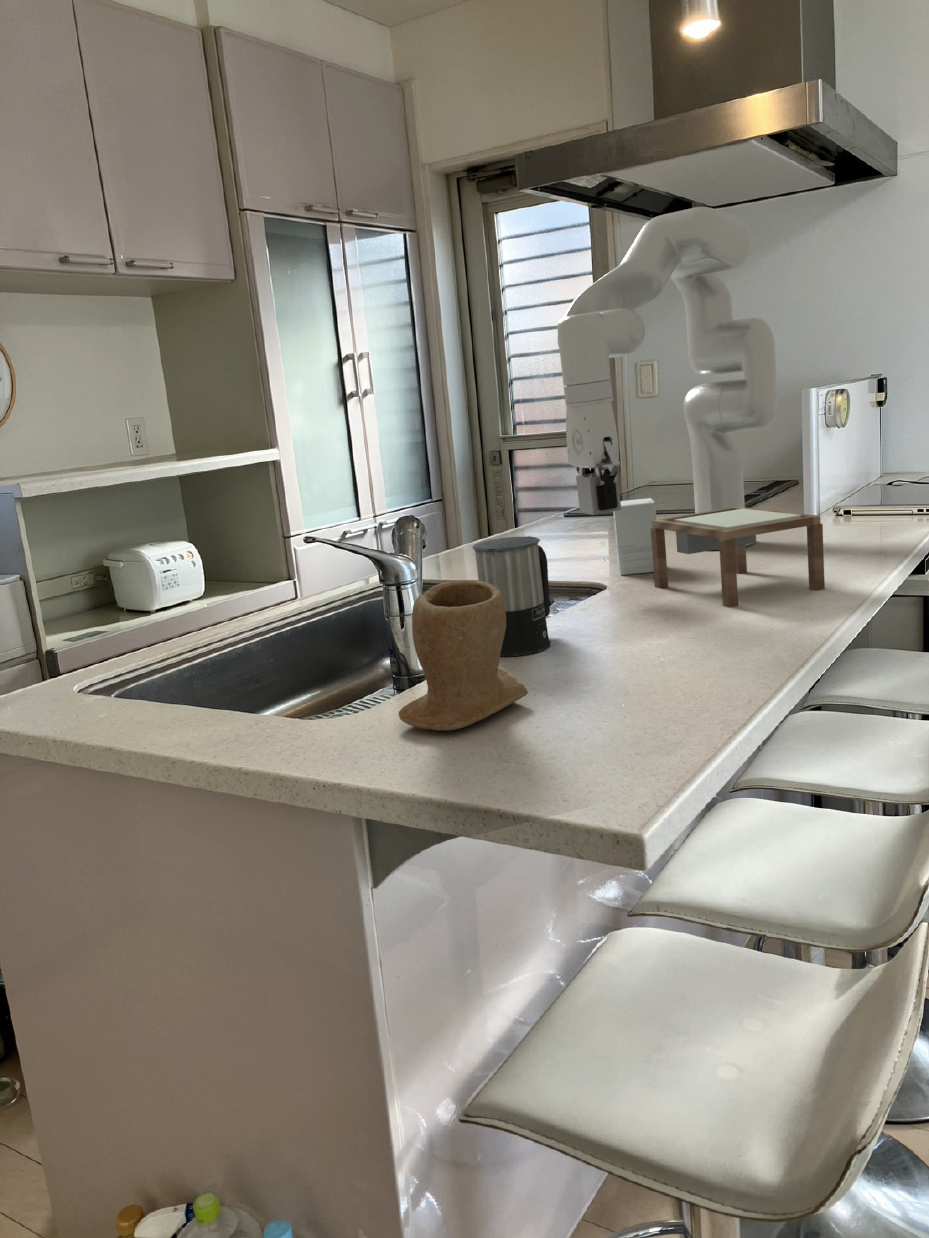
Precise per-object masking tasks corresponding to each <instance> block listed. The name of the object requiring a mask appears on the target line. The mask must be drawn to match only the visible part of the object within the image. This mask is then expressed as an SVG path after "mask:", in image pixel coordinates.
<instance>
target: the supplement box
mask: <svg viewBox="0 0 929 1238" xmlns="http://www.w3.org/2000/svg"><path fill="white" fill-rule="evenodd" d="M620 503H621V510H617V511H612V512H613V524H614V533H615V534H614V536H615V537H614V538H615V546H616V547H615V550H616V562H617V568H618V571H620V572H619V574H620V576H625V575H626V576H627V575H634V574H636V575H637V574H644V573H645V574H646V573H654V568H653V554H652V540H651V528H652V520H658V519H657V508H656V502H655V500H654V499H652V498H651V497H649V498H639V499H630V500H629V499H628V500H620Z"/></svg>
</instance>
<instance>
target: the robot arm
mask: <svg viewBox="0 0 929 1238" xmlns="http://www.w3.org/2000/svg"><path fill="white" fill-rule="evenodd" d="M752 249H753V238H752V233H751V231H750V229H749V227H748V226H747V224H746V223H745V222H744V221H743V220H742V219H741V218H739V217H737V216H734V215H733V214H729V213H727V212H724V211H722V210H719V209H716V208H712V207H710V206H709V207H708V206H697V207H691V208H688V209H683V210H678V211H674V212H669V213H664V214H662V215H661V214H660V215H658V216H655V217H652V218H651V219H650V220H648V221H647V222H645V224H644V225H643V226H642V228H641V229H640V230H639V233H638V234H637V236H636V238H635V239H634V241H633V242H632V244H631V246H630V248H629V249H628V251H627V252H626V254H625V256H624V257H623V259H622V260H621V262H620V264H618V266H616V267H615V268H613V269H611V270H610V271H609V272H607V273H606V274H604V275H603V276H602V277H601V278H599V279H598V280H596V281H595V282H594V283H592V284H590V286H588V287H587V288H585V289H584V290H583V291H582V292H581V293H580V294H579V295H577V297H575V299H574V300H573V301H572V302H571V304H570V306H569V308H567V310H566V312H565V314H564V316H563V317H562V318H560V319H559V321H558V322H557V327H556V328H557V329H556V331H557V345H558V349H559V356H560V357H559V359H560V365H561V375H562V376H561V377H562V384H563V392H564V393H563V394H564V403H565V408H566V411H565V435H566V447H567V450H566V451H567V461H568V463H569V464H570V465H571V466H572V467H574V468H576V472H577V473H578V476H579V475H585V474H590V473H596V476H597V481H598V484H599V486H596V490H597V500H598V509H599V510H601V511H603V510H608V509H613V508H617V506H618V503H617V493H616V482H617V479H616V475H617V473H618V470H619V469H620V466H621V463H620V460H619V459H620V450H619V448H620V447H619V440H618V431H617V426H616V419H615V414H614V410H613V405H612V402H613V401H614V397H613V387H612V377H611V367H610V359H613V358H621V357H626V356H629V355H631V354H633V353H635V352H636V351H637V350H638V349H639V348H640V347H641V346H642V344H643V343H644V340H645V335H646V326H645V322H644V320H643V318H642V316H640V315H639V313H638V312H636V310H638V309H640V308H642V307H645V306H646V305H648V304H650V303H652V302H654V301H655V300H656V299H657V298H659V296H660V295H662V294H661V293H662V292H663V291H664V288H665V287H666V285H667V283H668V281H669V280H671V281H672V282H673V283H674V284H675V286H676V287H677V289H678V291H679V292H680V295H681V297H682V299H683V302H684V309H685V320H686V336H687V337H686V339H687V352H688V360H689V365H690V367H691V370H692V371H693V372H694V373H696V374H698V375H703V376H714V375H726V374H733V373H734V374H735V373H740V372H742V373H743V374H744V378H743V379H734V380H732V379H731V380H730V379H729V380H720V381H712V382H711V381H710V382H705V383H701V384H699V385H696V386H694V387H693V388H691V389H690V390H689V391H688V392H687V394H685V397H684V400H683V414H684V420H685V424H686V427H687V431H688V432H687V433H688V437H689V438H688V439H689V443H690V453H691V463H692V464H691V465H692V478H693V480H692V481H693V495H694V496H693V497H694V499H693V500H694V511H695V513H702V512H708V511H714V510H720V509H727V508H733V507H745V508H746V506H745V505H746V503H745V489H744V483H745V482H744V467H743V464H744V463H743V454H742V453H743V452H742V450H741V448H740V446H739V445H738V443H737V442H736V440H735V439H734V437H733V436H732V434H730V432H742V431H755V430H762V429H766V428H768V427H769V426H771V425H772V424H773V422H774V421H775V419H776V416H777V411H778V386H777V363H776V346H775V345H776V344H775V338H774V334H773V332H772V329H771V327H770V325H769V324H768V322H766V321H765V320H763V319H762V318H758V317H751V318H747V317H746V318H741V319H734V317H733V308H732V295H731V292H730V289H729V288H728V286H727V285H726V283H725V282H724V281H723V279H722V278H721V277H720V276H719V275H718V274H717V273H718V272H725V271H729V270H730V271H731V270H735V269H738V268H741V267H743V266H744V265H745V264H746V263H747V262H748V260H749V259H750V256H751V254H752ZM602 471H604V473H603V475H602ZM695 513H694V514H695ZM753 544H754V543H751V544H746V547H748V546H750V545H753ZM716 550H719V551H720V549H716ZM716 550H715V551H716Z"/></svg>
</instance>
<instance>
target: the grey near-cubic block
mask: <svg viewBox="0 0 929 1238" xmlns="http://www.w3.org/2000/svg"><path fill="white" fill-rule="evenodd" d="M603 473H604V470H602V475H603ZM575 478H576V479H575V480H576V491H577V497H578V505H579V506H578V507H579V508H578V509H579V513H582V514H586V515H590V516H597V515H601V514H606V513H611V512H613V511H617V510H621V503H620V501H621V495H620V484H619V475H618V472H617V475H616V479H617V482H616V493H617V503H618V506H617V508H613V509H608V510H603V511H601V510H599V509H598V500H597V490H596V486H599V484H598V481H597V476H596V473H590V474H585V475H579V474H578V475H575Z"/></svg>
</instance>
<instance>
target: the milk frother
mask: <svg viewBox="0 0 929 1238" xmlns="http://www.w3.org/2000/svg"><path fill="white" fill-rule="evenodd" d="M540 541H541V540H540V538H538V537H537V536H530V535H529V536H512V537H511V536H510V537H502V538H497V539H496V538H495V539H488V540H485V541H480V542H477V543H475V544H474V545H472V550H474V555H475V561H476V568H477V569H476V571H477V578H478V579H477V581H482V582H485V583H489V584H491V585H493V586H494V587H496V588H497V589H498V590H499V591H500V592H501V594H502V597H503V600H504V605H505V612H506V629H505V635H504V639H503V644H502V648H501V653H500V658H501V657H502V658H503V657H504V658H505V657H507V658H508V657H518V656H519V657H521V656H528V655H532V653H533V654H536V653H539V651H540V652H542V651H545V650H546V649H549V648H550V646H551V640H550V637H549V632H548V624H547V618H548V617H549V615H550V612H551V609H550V608H551V607H550V606H551V605H550V589H549V587H550V586H549V570H548V568H549V567H548V558H547V554H546V552H545V550H544V548H543V547H542V546H541V545H539V543H540ZM544 649H545V650H544ZM527 654H528V655H527Z"/></svg>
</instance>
